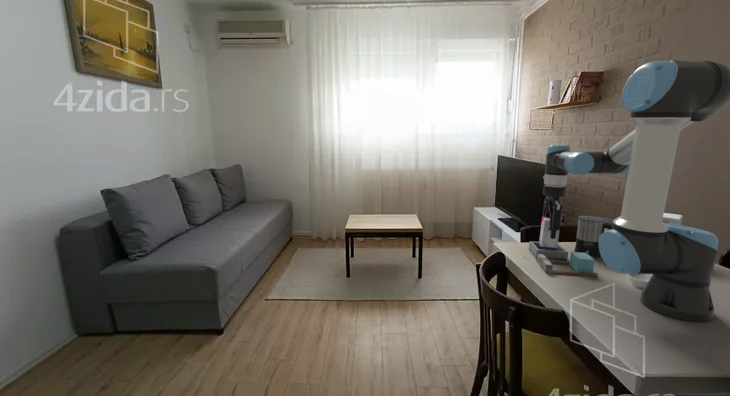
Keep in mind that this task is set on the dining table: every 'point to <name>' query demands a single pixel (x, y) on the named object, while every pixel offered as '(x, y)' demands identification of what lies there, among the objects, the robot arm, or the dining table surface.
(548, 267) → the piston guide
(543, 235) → the supplement box
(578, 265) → the block
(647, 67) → the robot arm
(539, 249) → the tray
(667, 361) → the dining table surface
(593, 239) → the milk frother
